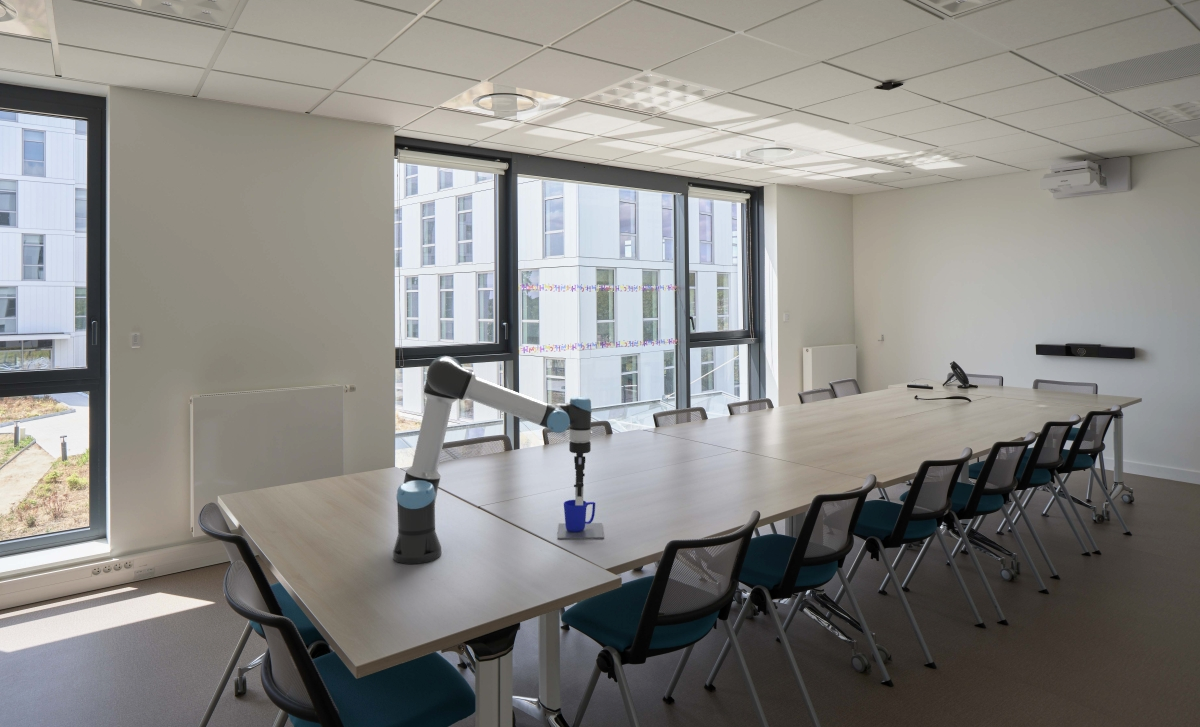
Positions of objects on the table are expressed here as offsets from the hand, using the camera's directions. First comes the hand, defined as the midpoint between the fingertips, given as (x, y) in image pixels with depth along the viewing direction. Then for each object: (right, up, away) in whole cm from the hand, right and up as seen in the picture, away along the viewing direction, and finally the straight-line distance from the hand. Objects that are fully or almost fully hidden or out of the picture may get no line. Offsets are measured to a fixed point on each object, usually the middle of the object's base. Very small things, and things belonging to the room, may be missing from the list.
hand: (579, 499), depth 249 cm
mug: (0, -11, +2) cm, 11 cm away
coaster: (0, -12, +1) cm, 12 cm away
